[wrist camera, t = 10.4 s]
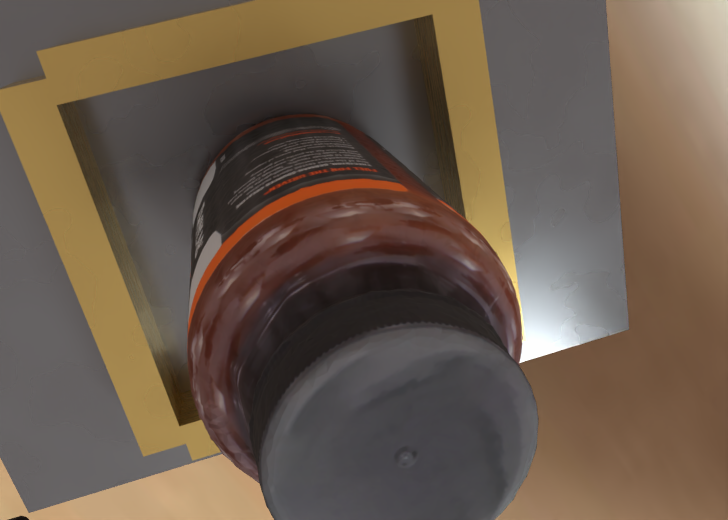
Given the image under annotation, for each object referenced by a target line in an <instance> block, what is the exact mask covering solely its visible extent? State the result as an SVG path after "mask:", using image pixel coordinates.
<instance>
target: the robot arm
mask: <svg viewBox="0 0 728 520" xmlns="http://www.w3.org/2000/svg"><path fill="white" fill-rule="evenodd" d="M9 520H29V519H28V518H27V517H24V516H19V517H16V518H12V519H9Z"/></svg>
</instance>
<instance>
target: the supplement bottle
mask: <svg viewBox="0 0 728 520" xmlns="http://www.w3.org/2000/svg"><path fill="white" fill-rule="evenodd" d="M191 239H192V245H191V274H190V275H191V276H190V285H189V308H188V321H187V331H188V342H187V359H188V371H189V378H190V388H191V393H192V397H193V399H194V402H195V406H196V408H197V410H198V415H199V418H200V419H201V420H202V421H203V423H204V426H205V428H206V430H207V432H208V434H209V436H210V439H211V440H212V441H213V442H214V443H215V444H216V446H217V447H218V448H219V450H220V451H221V452H222V453H223V455H224V456H226V457H227V458H228V459H229V460H231V461H232V462H233V463H234V465H235V466H236V467H238V468H239V469H240V470H242V471H243V472H244V473H246V474H247V475H249V476H250V477H252V478H253V479H254V480H255V481H257V482H258V483H260V486H261V490H262V493H263V496H264V499H265V502H266V506H267V508H268V509H269V511H270V513H271V515H272V517H273V518H274V520H494V519H496V518H497V517H498V516H499V515H500V514H501V513H502V512H503V511H504V510H505V508H506V507H507V506H508V505H509V504H510V503H511V501H512V500H513V499H514V497H515V495H516V493H517V491H518V489H519V488H520V486H521V484H522V483H523V481H524V479H525V478H526V477H527V474H528V471H529V468H530V465H531V462H532V460H533V457H534V454H535V451H536V447H537V431H538V414H537V406H536V401H535V398H534V395H533V392H532V389H531V386H530V384H529V382H528V380H527V378H526V377H525V375H524V373H523V371H522V370H521V368H520V367H519V364H520V358H521V353H522V346H523V344H522V341H523V334H522V322H521V312H520V307H519V303H518V299H517V295H516V291H515V288H514V286H513V283H512V280H511V278H510V276H509V274H508V272H507V270H506V269H505V267H504V265H503V263H502V262H501V260H500V258H499V257H498V255H497V254H496V252H495V251H494V250H493V248H492V247H491V246H490V244H489V243H488V241H487V240H486V239H485V238H484V236H483V235H482V234H481V233H480V232H479V231H478V230H477V229H476V228H475V227H474V226H473V225H472V224H470V223H469V222H468V221H467V220H466V219H465V218H464V217H463V216H462V215H461V214H460V213H459V212H457V211H456V210H455V209H454V208H453V207H452V206H451V205H450V204H449V203H448V202H446V201H445V200H443V199H442V198H441V197H440V196H439V195H438V194H437V193H435V192H434V191H433V190H432V189H431V188H430V187H429V186H427V185H426V184H425V183H424V182H423V181H422V180H421V179H420V178H419V177H417V176H416V175H415V174H414V173H413V172H411V171H410V170H409V169H408V168H407V167H406V166H405V165H404V164H403V163H401V162H400V161H399V160H398V159H397V158H395V157H394V156H393V155H392V154H391V153H390V152H388V151H387V150H386V149H385V148H384V147H383V146H381V145H380V144H379V143H378V142H376V141H375V140H374V139H373V138H371V137H370V136H368V135H366V134H365V133H363V132H362V131H360V130H358V129H356V128H355V127H353V126H351V125H349V124H347V123H344V122H342V121H339V120H336V119H333V118H330V117H327V116H322V115H315V114H297V115H286V116H281V117H276V118H273V119H269V120H266V121H264V122H261V123H259V124H257V125H255V126H252V127H250V128H248V129H247V130H245V131H243V132H241V133H240V134H239V135H237V136H236V137H235V138H234V139H233V140H231V141H230V142H229V143H228V144H227V145H226V146H225V147H224V148H223V149H222V150H221V151H220V153H219V154H218V155H217V156H216V158H215V159H214V160H213V162H212V163H211V165H210V166H209V167H208V169H207V171H206V174H205V175H204V177H203V179H202V182H201V185H200V187H199V191H198V193H197V198H196V202H195V207H194V212H193V222H192V234H191Z"/></svg>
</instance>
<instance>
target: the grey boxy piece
mask: <svg viewBox="0 0 728 520" xmlns="http://www.w3.org/2000/svg"><path fill="white" fill-rule="evenodd" d="M297 114H315V115H322V116H327V117H330V118H333V119H336V120H339V121H342V122H344V123H347V124H349V125H351V126H353V127H355V128H356V129H358V130H360V131H362V132H363V133H365V134H366V135H368V136H370V137H371V138H373V139H374V140H375V141H376V142H378V143H379V144H380V145H381V146H383V147H384V148H385V149H386V150H387V151H388V152H390V153H391V154H392V155H393V156H394V157H395V158H397V159H398V160H399V161H400V162H401V163H403V164H404V165H405V166H406V167H407V168H408V169H409V170H410V171H411V172H413V173H414V174H415V175H416V176H417V177H419V178H420V179H421V180H422V181H423V182H424V183H425V184H426V185H427V186H429V187H430V188H431V189H432V190H433V191H434V192H435V193H437V194H438V195H439V196H440V197H441V198H442V199H443V200H445V201H446V202H448V203H449V204H450V205H451V206H452V207H453V208H454V209H455V210H456V211H457V212H459V213H460V214H461V215H462V216H463V217H464V218H465V219H466V220H467V221H468V222H469V223H470V224H472V225H473V226H474V227H475V228H476V229H477V230H478V231H479V232H480V233H481V234H482V235H483V236H484V238H485V239H486V240H487V241H488V243H489V244H490V246H491V247H492V248H493V250H494V251H495V252H496V254H497V255H498V257H499V258H500V260H501V262H502V263H503V265H504V267H505V269H506V270H507V272H508V274H509V276H510V278H511V280H512V283H513V286H514V288H515V291H516V295H517V299H518V303H519V307H520V312H521V322H522V334H523V341H522V344H523V346H522V353H521V358H520V363H521V362H524V361H527V360H531V359H534V358H537V357H540V356H544V355H547V354H550V353H553V352H557V351H560V350H563V349H567V348H570V347H573V346H576V345H580V344H583V343H586V342H589V341H593V340H596V339H599V338H603V337H606V336H609V335H612V334H616V333H619V332H622V331H625V330H629V321H628V307H627V293H626V279H625V265H624V251H623V237H622V223H621V209H620V195H619V181H618V167H617V153H616V139H615V125H614V111H613V97H612V83H611V69H610V55H609V41H608V27H607V13H606V0H0V458H1V460H2V462H3V464H4V465H5V467H6V469H7V471H8V473H9V475H10V477H11V479H12V481H13V483H14V485H15V487H16V489H17V491H18V493H19V495H20V497H21V499H22V500H23V502H24V504H25V506H26V508H27V510H28V512H29V513H30V512H33V511H37V510H40V509H43V508H47V507H50V506H53V505H56V504H60V503H63V502H66V501H69V500H73V499H76V498H79V497H83V496H86V495H89V494H92V493H96V492H99V491H102V490H105V489H109V488H112V487H115V486H118V485H122V484H125V483H128V482H132V481H135V480H138V479H141V478H145V477H148V476H151V475H154V474H158V473H161V472H164V471H168V470H171V469H174V468H177V467H181V466H184V465H187V464H190V463H194V462H197V461H200V460H204V459H207V458H210V457H213V456H217V455H220V454H223V453H222V452H221V451H220V450H219V448H218V447H217V446H216V444H215V443H214V442H213V441H212V440H211V439H210V436H209V434H208V432H207V430H206V428H205V426H204V423H203V421H202V420H201V419H200V418H199V415H198V410H197V408H196V406H195V402H194V399H193V397H192V393H191V388H190V378H189V371H188V359H187V342H188V331H187V321H188V308H189V285H190V276H191V275H190V274H191V245H192V239H191V234H192V222H193V212H194V207H195V202H196V198H197V193H198V191H199V187H200V185H201V182H202V179H203V177H204V175H205V174H206V171H207V169H208V167H209V166H210V165H211V163H212V162H213V160H214V159H215V158H216V156H217V155H218V154H219V153H220V151H221V150H222V149H223V148H224V147H225V146H226V145H227V144H228V143H229V142H230V141H231V140H233V139H234V138H235V137H236V136H237V135H239V134H240V133H241V132H243V131H245V130H247V129H248V128H250V127H252V126H255V125H257V124H259V123H261V122H264V121H266V120H269V119H273V118H276V117H281V116H286V115H297Z"/></svg>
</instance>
